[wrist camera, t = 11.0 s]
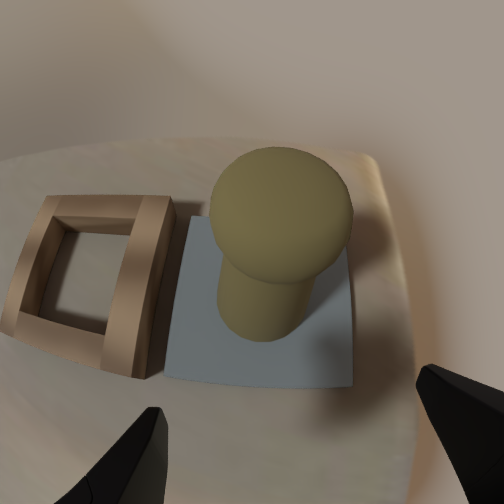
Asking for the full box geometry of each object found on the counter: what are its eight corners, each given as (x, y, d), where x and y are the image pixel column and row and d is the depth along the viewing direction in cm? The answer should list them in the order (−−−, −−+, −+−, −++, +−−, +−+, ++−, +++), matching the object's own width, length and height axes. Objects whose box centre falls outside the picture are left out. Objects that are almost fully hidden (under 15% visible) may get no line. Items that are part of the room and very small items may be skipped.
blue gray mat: (348, 387, 16) (352, 386, 15) (166, 376, 16) (163, 375, 15) (340, 233, 22) (344, 228, 21) (192, 221, 22) (191, 215, 21)
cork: (197, 296, 18) (154, 178, 8) (261, 241, 20) (279, 108, 10) (263, 361, 16) (301, 314, 6) (324, 297, 18) (404, 190, 9)
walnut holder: (144, 379, 16) (131, 377, 13) (16, 338, 16) (-2, 330, 13) (176, 215, 22) (170, 195, 20) (58, 211, 22) (46, 195, 20)
